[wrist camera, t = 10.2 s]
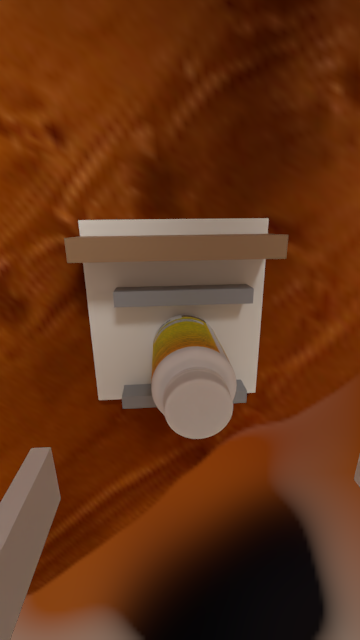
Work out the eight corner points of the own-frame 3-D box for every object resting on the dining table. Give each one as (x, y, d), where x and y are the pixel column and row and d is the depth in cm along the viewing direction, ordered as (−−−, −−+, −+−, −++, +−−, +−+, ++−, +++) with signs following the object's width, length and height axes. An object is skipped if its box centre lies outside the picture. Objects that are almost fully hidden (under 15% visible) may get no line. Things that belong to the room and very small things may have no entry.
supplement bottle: (140, 338, 26) (128, 406, 16) (189, 299, 25) (209, 345, 15) (179, 381, 27) (190, 466, 17) (227, 345, 26) (266, 414, 17)
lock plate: (81, 220, 23) (61, 218, 18) (264, 218, 24) (290, 216, 19) (100, 394, 28) (88, 428, 23) (252, 387, 29) (270, 418, 24)
